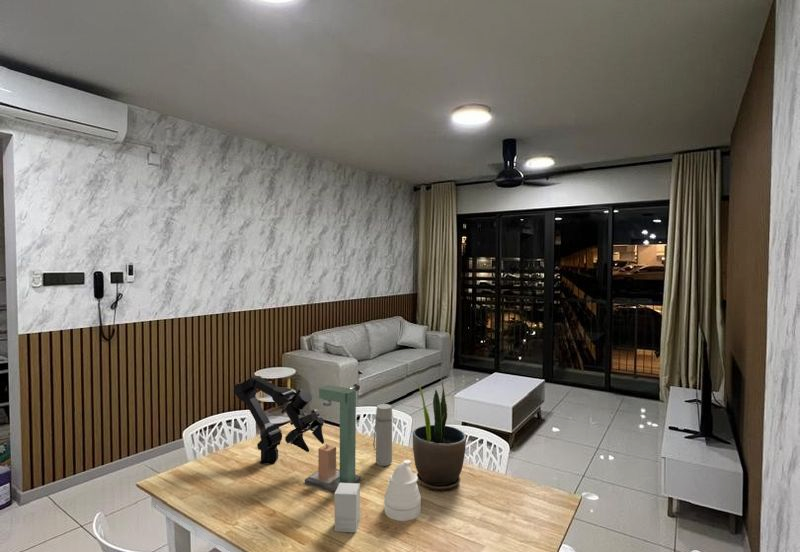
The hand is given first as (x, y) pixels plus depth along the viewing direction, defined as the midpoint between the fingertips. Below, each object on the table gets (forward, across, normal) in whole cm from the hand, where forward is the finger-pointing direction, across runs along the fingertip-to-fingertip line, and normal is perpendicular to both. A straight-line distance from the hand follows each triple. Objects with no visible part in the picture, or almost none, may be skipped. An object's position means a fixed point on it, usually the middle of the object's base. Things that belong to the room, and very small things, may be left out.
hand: (316, 447), depth 174 cm
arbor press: (+15, +3, +2) cm, 15 cm away
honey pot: (+38, -3, -22) cm, 44 cm away
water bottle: (+20, +24, -4) cm, 32 cm away
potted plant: (+40, +22, -24) cm, 52 cm away
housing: (+11, 0, +3) cm, 11 cm away
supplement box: (+30, -21, -14) cm, 39 cm away
